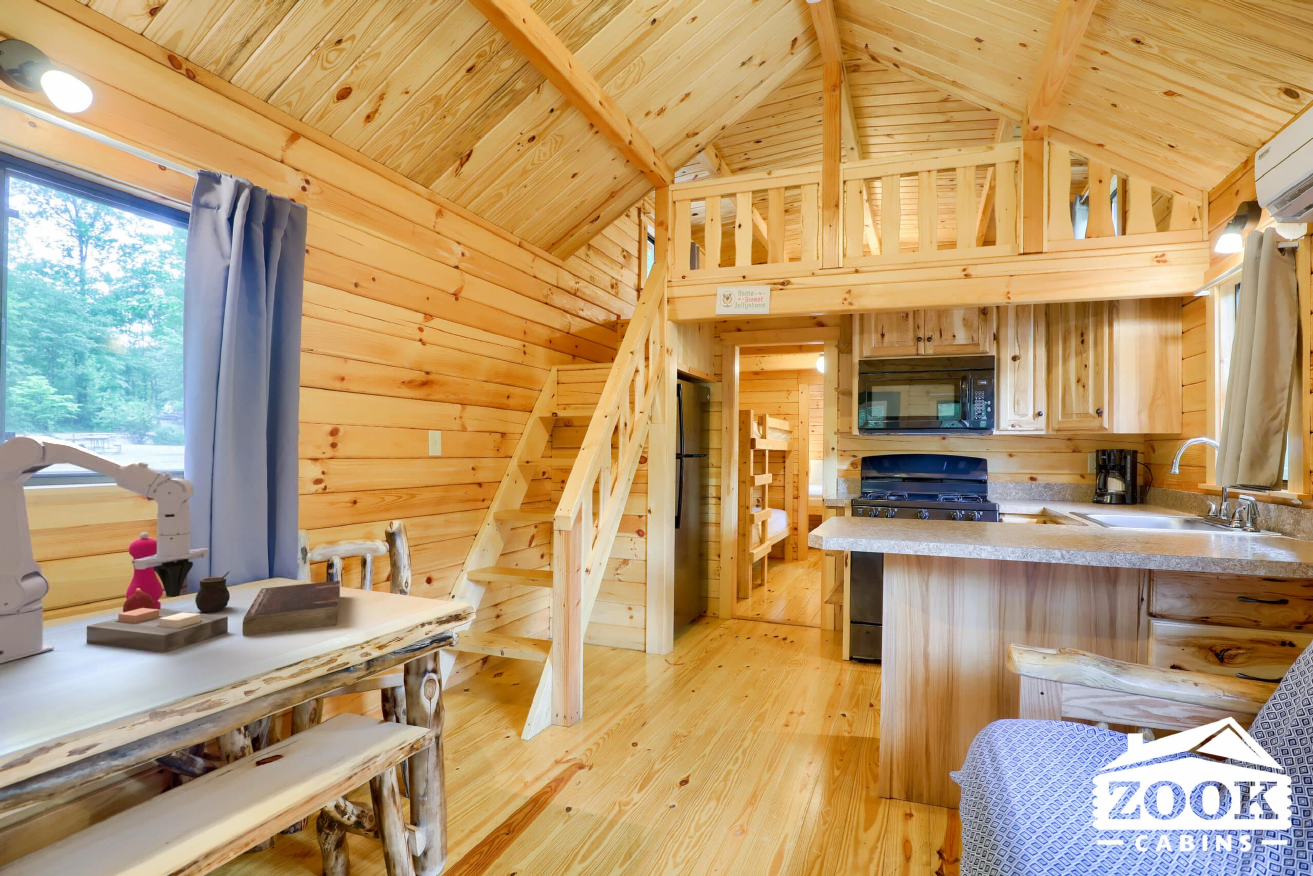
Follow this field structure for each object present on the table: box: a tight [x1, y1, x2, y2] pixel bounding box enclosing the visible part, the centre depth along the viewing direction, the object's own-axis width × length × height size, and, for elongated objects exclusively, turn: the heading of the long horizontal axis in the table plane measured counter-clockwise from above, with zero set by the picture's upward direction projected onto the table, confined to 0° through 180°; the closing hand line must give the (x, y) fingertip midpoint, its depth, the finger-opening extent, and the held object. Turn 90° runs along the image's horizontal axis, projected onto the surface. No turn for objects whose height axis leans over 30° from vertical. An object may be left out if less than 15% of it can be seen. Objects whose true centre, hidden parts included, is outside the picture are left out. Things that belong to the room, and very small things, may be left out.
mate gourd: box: [195, 570, 230, 613], centre depth 159 cm, size 7×8×10 cm
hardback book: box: [242, 580, 341, 637], centre depth 156 cm, size 29×19×5 cm, turn 26°
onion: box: [122, 588, 155, 613], centre depth 149 cm, size 6×6×8 cm
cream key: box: [159, 611, 201, 629], centre depth 136 cm, size 5×5×3 cm
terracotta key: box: [117, 608, 159, 624], centre depth 139 cm, size 5×5×3 cm
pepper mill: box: [125, 531, 164, 610], centre depth 157 cm, size 7×7×20 cm
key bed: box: [86, 609, 229, 653], centre depth 138 cm, size 14×22×4 cm, turn 75°
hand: (173, 596), depth 136 cm, fingers closed
